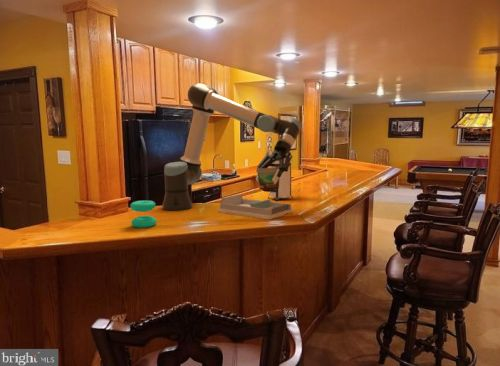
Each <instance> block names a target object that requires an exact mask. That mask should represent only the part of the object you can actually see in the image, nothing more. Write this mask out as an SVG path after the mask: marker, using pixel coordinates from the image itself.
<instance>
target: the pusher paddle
mask: <svg viewBox="0 0 500 366" xmlns="http://www.w3.org/2000/svg"><path fill="white" fill-rule="evenodd" d="M270 200H271V199H268V198H267V199H265V200H259V201H260V202H256V203H255V202H251V203H250V206H251V207H255V208H267V207H270V202H271V201H270Z"/></svg>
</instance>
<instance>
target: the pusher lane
mask: <svg viewBox="0 0 500 366" xmlns="http://www.w3.org/2000/svg"><path fill="white" fill-rule="evenodd" d="M220 201H221V203H219V208H218V209H217V212H218V213H223V214H230V215H235V216H243V217H248V216H249V217H250V218H257V219H261V220H272V219H274V218H278V217H281V215H282V216H285V215H287V213H288V214H290V212H291V213H293V212H292V211H293V210H294V209H293V208H292V204H291V203H284V202H283V203H282V202H278V201H275V202H274V201H270V207H267V208H255V207H251V206H250V203H251V202H255V203H256V202H260V201H261V200H259V199H258V200H257V199H249V198H243V193H239V194H235V195H230V196H225V197H221V199H220ZM284 214H285V215H284ZM249 217H248V218H249Z"/></svg>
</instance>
